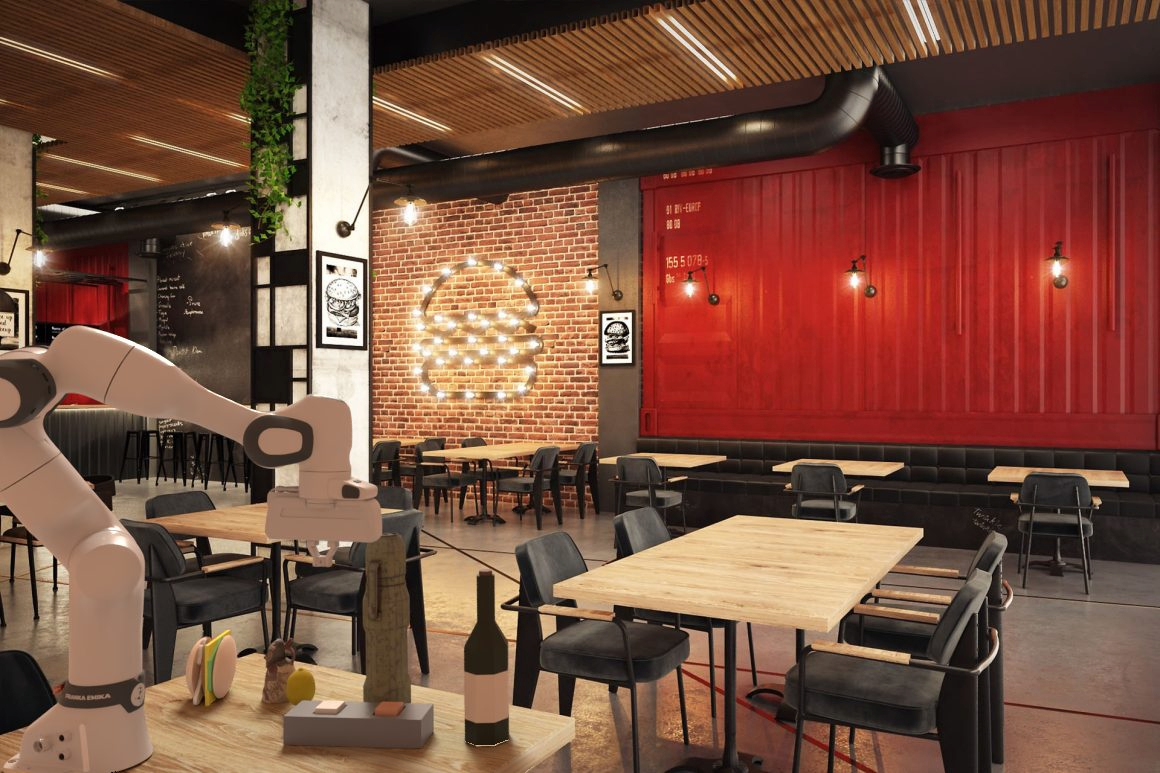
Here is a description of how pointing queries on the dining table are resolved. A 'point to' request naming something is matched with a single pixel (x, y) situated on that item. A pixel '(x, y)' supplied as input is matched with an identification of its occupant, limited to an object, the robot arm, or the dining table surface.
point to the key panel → (358, 726)
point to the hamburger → (211, 667)
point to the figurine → (278, 671)
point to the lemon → (300, 686)
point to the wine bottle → (486, 671)
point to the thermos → (386, 621)
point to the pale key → (330, 707)
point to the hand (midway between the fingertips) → (322, 566)
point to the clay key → (389, 708)
